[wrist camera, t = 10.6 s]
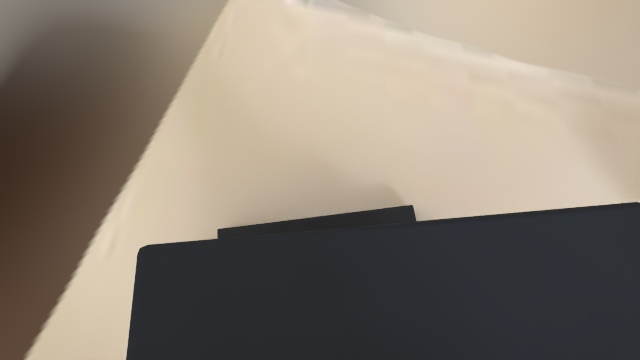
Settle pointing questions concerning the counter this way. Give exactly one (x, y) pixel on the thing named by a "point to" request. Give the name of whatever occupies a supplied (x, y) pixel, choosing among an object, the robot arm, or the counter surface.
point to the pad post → (400, 291)
